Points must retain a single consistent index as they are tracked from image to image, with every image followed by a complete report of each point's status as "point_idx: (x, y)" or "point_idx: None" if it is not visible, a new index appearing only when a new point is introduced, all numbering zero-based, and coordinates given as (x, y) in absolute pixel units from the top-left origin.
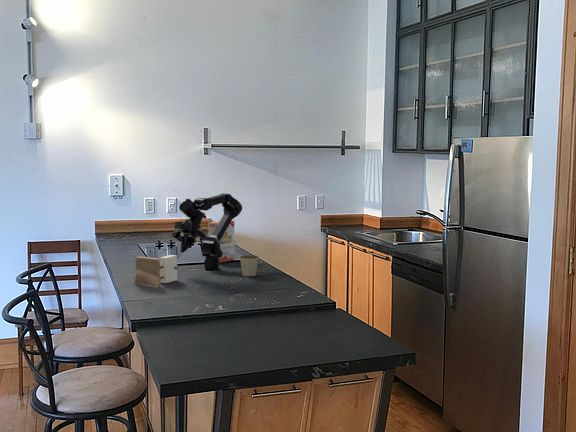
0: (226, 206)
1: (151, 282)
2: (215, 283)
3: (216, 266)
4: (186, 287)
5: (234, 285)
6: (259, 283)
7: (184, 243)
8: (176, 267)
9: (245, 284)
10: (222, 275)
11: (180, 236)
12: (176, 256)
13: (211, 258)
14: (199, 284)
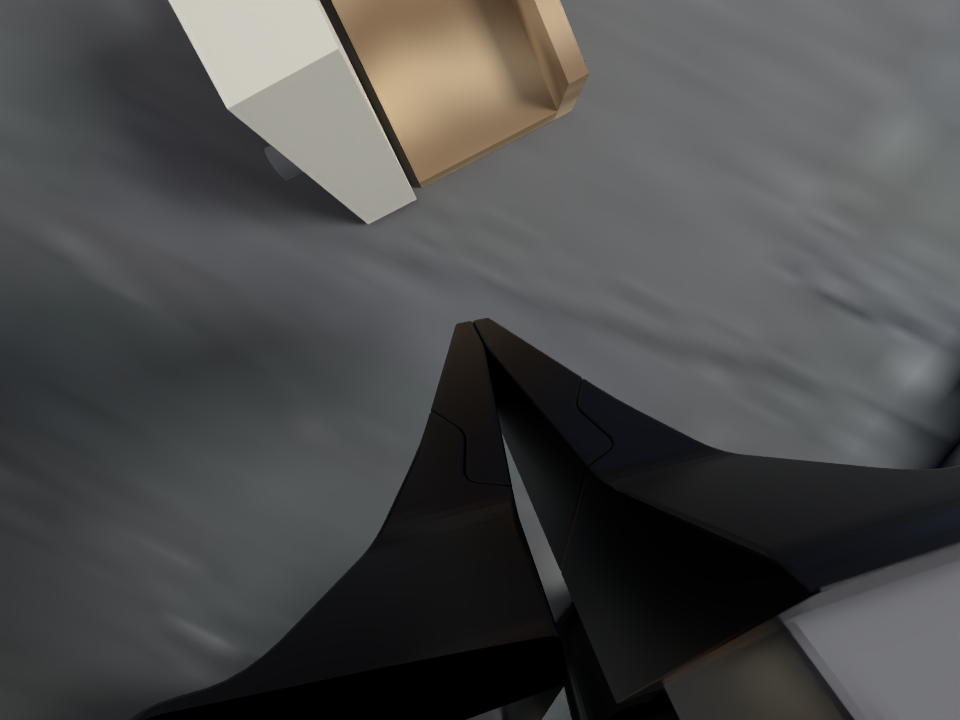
0: None
1: None
2: (138, 421)
3: (568, 671)
4: (102, 170)
5: (15, 496)
6: (4, 656)
7: (448, 430)
8: (264, 148)
9: (13, 571)
10: None
11: (889, 519)
12: (232, 105)
13: (603, 712)
14: (159, 307)
